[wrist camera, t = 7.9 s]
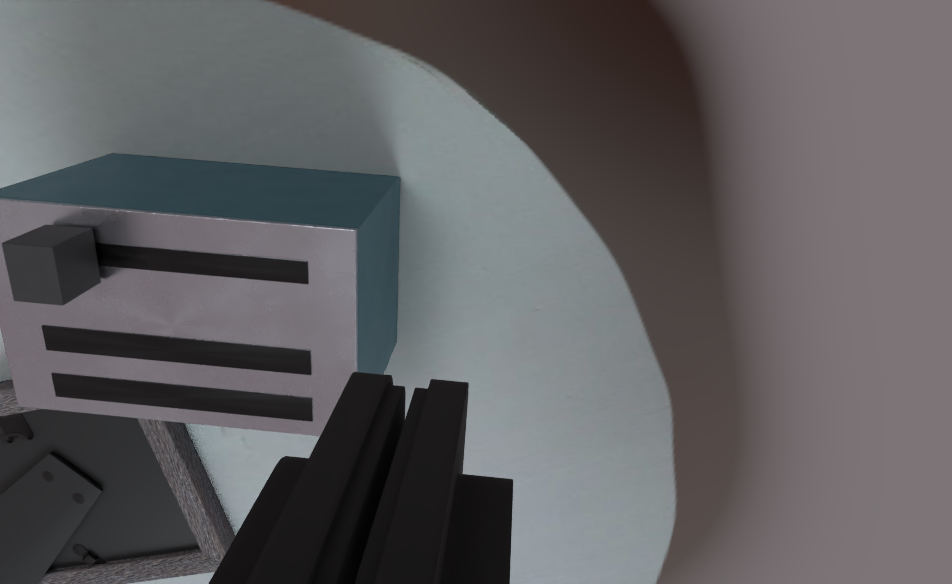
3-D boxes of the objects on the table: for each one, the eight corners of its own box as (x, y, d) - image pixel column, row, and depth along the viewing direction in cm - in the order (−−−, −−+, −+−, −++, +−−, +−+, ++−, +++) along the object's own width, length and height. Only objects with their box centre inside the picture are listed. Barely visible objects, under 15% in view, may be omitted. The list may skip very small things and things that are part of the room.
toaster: (111, 152, 36) (-32, 197, 27) (400, 176, 36) (355, 230, 26) (135, 318, 40) (17, 407, 31) (397, 342, 40) (356, 440, 30)
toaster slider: (45, 223, 27) (0, 242, 25) (92, 228, 27) (52, 247, 25) (55, 278, 28) (13, 301, 26) (101, 282, 28) (63, 306, 26)
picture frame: (-15, 587, 50) (242, 552, 47) (-36, 609, 48) (230, 574, 45) (-132, 407, 44) (151, 353, 41) (-161, 423, 42) (133, 368, 39)
